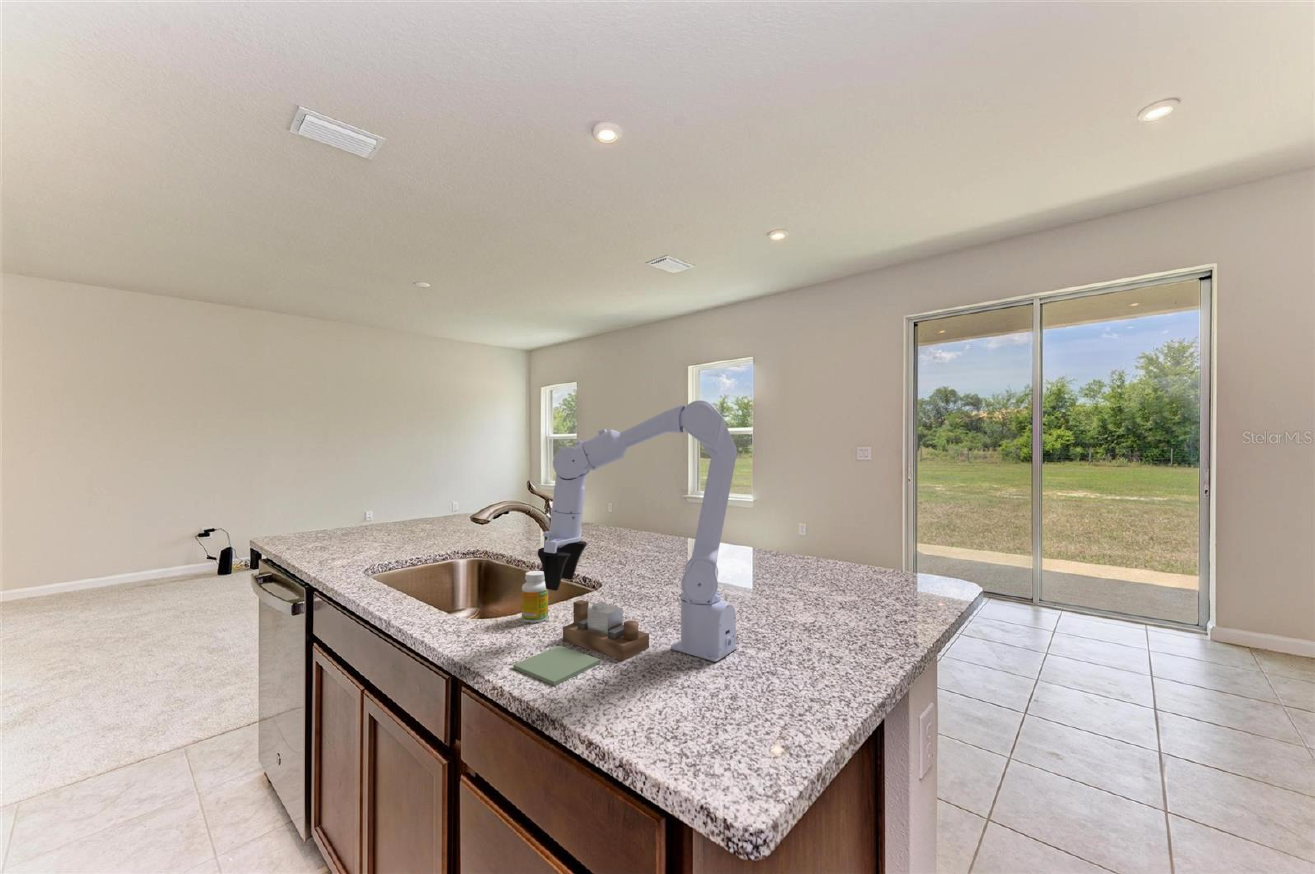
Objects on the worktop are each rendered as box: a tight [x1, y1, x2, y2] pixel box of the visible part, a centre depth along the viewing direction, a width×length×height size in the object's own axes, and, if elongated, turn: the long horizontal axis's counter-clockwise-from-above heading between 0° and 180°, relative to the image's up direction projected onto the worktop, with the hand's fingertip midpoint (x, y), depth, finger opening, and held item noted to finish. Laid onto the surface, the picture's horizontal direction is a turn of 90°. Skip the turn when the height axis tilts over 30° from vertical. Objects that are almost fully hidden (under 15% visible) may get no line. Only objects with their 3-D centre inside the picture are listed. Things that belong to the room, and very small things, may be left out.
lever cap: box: [588, 600, 624, 637], centre depth 92 cm, size 5×4×5 cm
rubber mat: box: [512, 645, 601, 687], centre depth 83 cm, size 10×10×1 cm
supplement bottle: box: [521, 570, 549, 624], centre depth 105 cm, size 5×5×10 cm
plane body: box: [562, 599, 650, 662], centre depth 92 cm, size 15×7×6 cm, turn 53°
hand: (559, 583), depth 93 cm, fingers open, 7 cm apart
